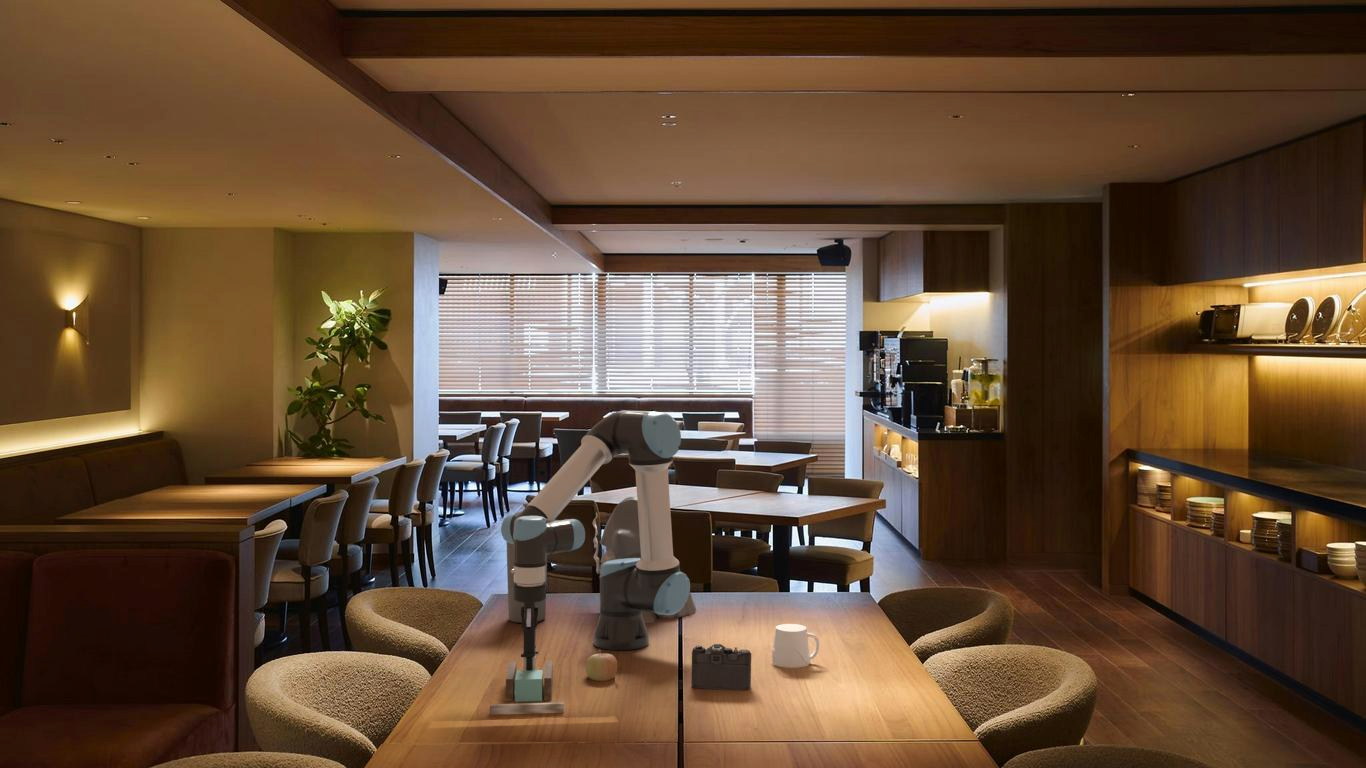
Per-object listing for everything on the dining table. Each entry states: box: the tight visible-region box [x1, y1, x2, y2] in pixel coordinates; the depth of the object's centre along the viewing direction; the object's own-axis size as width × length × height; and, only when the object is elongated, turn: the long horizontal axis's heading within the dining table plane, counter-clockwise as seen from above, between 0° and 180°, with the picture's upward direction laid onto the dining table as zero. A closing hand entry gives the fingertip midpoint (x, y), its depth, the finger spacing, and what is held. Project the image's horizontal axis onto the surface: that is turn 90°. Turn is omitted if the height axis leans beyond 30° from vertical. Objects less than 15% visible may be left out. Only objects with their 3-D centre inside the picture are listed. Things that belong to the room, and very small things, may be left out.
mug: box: [771, 623, 820, 669], centre depth 277 cm, size 12×9×8 cm
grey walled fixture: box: [489, 660, 565, 720], centre depth 246 cm, size 16×23×6 cm
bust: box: [592, 496, 697, 624], centre depth 334 cm, size 34×34×35 cm
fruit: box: [585, 648, 618, 682], centre depth 261 cm, size 8×7×8 cm
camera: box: [690, 643, 752, 691], centre depth 260 cm, size 14×11×10 cm
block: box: [514, 669, 544, 703], centre depth 246 cm, size 6×7×5 cm
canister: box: [506, 502, 548, 624], centre depth 321 cm, size 13×13×35 cm
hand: (529, 683), depth 251 cm, fingers closed
